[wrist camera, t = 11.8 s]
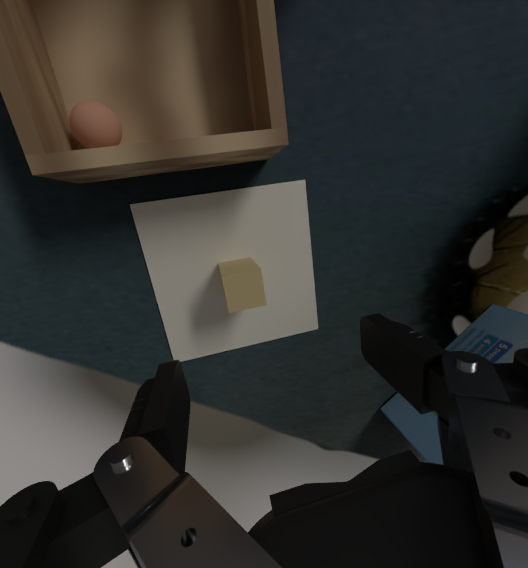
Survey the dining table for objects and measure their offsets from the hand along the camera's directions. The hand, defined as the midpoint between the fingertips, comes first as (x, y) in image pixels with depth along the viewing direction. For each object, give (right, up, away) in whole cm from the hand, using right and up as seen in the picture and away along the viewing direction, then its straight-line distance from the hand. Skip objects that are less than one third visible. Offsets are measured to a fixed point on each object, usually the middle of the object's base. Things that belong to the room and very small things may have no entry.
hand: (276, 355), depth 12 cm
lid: (-3, +4, +14) cm, 15 cm away
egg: (-12, +14, +8) cm, 20 cm away
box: (-9, +19, +8) cm, 23 cm away
